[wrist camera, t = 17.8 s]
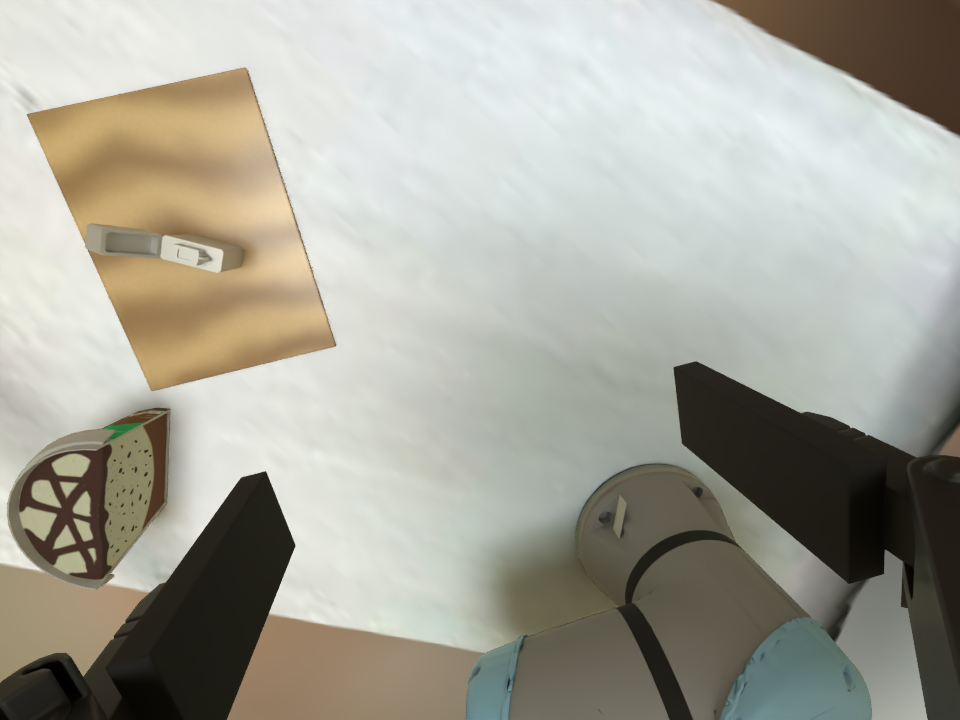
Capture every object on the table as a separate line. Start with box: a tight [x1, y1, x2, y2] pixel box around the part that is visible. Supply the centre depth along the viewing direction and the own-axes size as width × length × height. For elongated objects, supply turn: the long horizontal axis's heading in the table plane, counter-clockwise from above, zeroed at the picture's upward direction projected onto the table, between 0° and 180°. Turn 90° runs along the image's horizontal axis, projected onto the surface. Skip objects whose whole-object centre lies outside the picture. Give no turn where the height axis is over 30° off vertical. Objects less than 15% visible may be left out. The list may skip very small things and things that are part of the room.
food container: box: [7, 408, 170, 590], centre depth 38 cm, size 12×6×10 cm, turn 169°
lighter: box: [85, 223, 244, 273], centre depth 35 cm, size 7×2×8 cm, turn 74°
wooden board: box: [27, 68, 336, 391], centre depth 39 cm, size 22×16×1 cm
